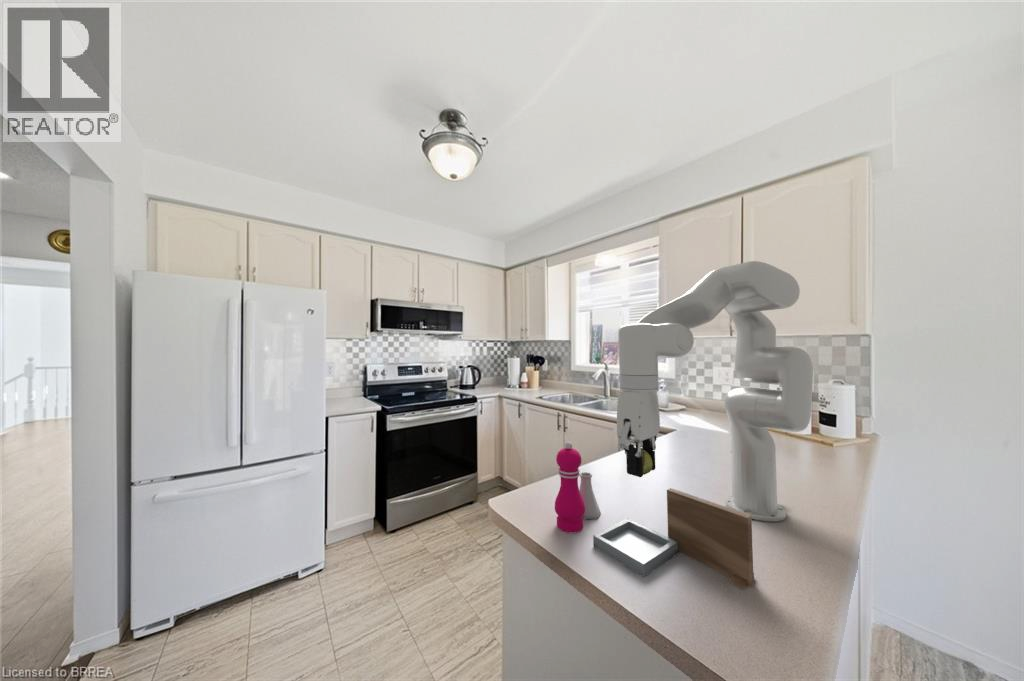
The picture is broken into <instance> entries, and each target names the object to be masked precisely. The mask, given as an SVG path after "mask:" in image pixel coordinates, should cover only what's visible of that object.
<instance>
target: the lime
mask: <svg viewBox="0 0 1024 681" xmlns="http://www.w3.org/2000/svg"><path fill="white" fill-rule="evenodd" d="M640 456H641V457H642V459H643V476H644V475H645V476H646V475H647V474H649V473H650V472H651V471H653V470H652V466H653V463H652V459H651V456H650V455H649V454H648V452H646V451H645V450H643V449H641V453H640Z"/></svg>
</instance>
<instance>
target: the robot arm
mask: <svg viewBox="0 0 1024 681" xmlns="http://www.w3.org/2000/svg"><path fill="white" fill-rule="evenodd" d="M800 290H801V289H800V286H799V282H798V281H797V279H796V278H795V277H794V276H793V275H791V273H788V272H787V271H785V270H783V269H780V268H778V267H776V266H774V265H771V264H770V263H766V262H762V261H758V260H752V261H747V262H742V263H737V264H733V265H729V266H723V267H719V268H716V269H714V270H712V271H710V272H709V273H707V274H706V275H705V276H704V277H703V278H701V279H700V280H699V281H698V282H697V283H696V284H695V285H693V287H692V288H690V289H689V290H688V291H686V292H685V293H684V294H683V295H682V296H680V297H677V298H675V299H673V300H671V301H670V302H667V303H666V304H663V305H661V306H660V307H657V308H655V309H654V310H652V311H650V312H648V313H647V314H645V315H644V316H643V317H642V318H641V319H639V320H638V321H637V322H636V323H629V324H624V325H622V326H620V327H619V329H618V358H619V359H618V362H619V366H618V368H619V371H618V372H619V391H618V392H619V393H618V398H617V408H616V437H617V438H618V439H619V440H618V441H619V442H618V443H619V445H620V446H621V447H622V448H623V450H624V454H625V456H626V457H625V458H626V459H625V460H626V473H627V475H631V476H634V477H637V478H641V477H642V478H643V476H644V475H643V459H642V457H641V456H640V453H641V449H643V450H645V451H646V452H648V454H649V455H650V456H651V459H652V463H653V466H652V470H651V471H655V470H656V448H657V445H656V441H657V437H658V434H659V433H660V429H661V428H660V427H661V418H660V417H661V416H660V406H659V405H660V403H659V397H658V391H659V390H660V388H659V359H676V358H681V357H683V356H686V355H688V354H689V353H690V351H691V350H692V348H693V347H694V342H695V339H694V335H693V332H692V331H691V330H690V329H695V328H697V327H700V326H703V325H706V324H708V323H710V322H712V321H714V319H715V318H716V317H717V316H718V315H719V314H720V313H721V312H722V310H725V312H726V313H727V314H728V315H729V317H730V319H731V320H732V323H733V324H734V325H735V329H736V343H735V344H736V345H735V346H736V347H735V355H734V356H735V357H734V360H735V361H734V371H735V376H736V377H737V378H738V379H739V380H741V381H743V382H745V383H746V382H747V383H755V384H766V385H777V386H781V390H777V389H767V388H759V387H737V388H733V389H731V390H729V391H728V392H727V394H726V395H725V399H724V407H725V413H726V416H727V421H728V425H729V433H730V461H731V462H730V463H731V488H732V490H731V492H732V493H731V495H729V496H727V497H726V498H725V505H726V507H728V508H731V509H733V510H736V511H739V512H742V513H745V514H748V515H751V519H753V520H757V521H762V522H781V521H783V520H785V519H786V518H787V517H786V516H787V514H786V513H787V512H786V510H785V509H784V508H783V507H782V506H780V505H779V504H778V485H777V484H778V481H777V480H778V479H777V457H776V456H777V455H776V453H777V451H776V443H775V441H774V438H773V436H772V435H771V433H770V432H769V430H768V428H769V429H773V430H780V431H786V432H793V433H797V432H802V431H805V430H806V429H807V428H808V426H809V425H810V424H809V423H810V421H811V416H812V401H813V398H812V397H813V379H814V372H813V371H814V370H813V369H814V368H813V362H812V359H811V357H810V355H809V353H808V352H806V350H804V349H803V348H801V347H796V346H776V345H777V344H776V342H777V338H776V337H777V331H776V330H777V329H776V327H775V325H774V324H773V322H772V321H771V320H770V318H768V317H767V316H766V315H765V314H764V313H763V312H765V311H774V310H782V309H783V310H784V309H788V308H790V307H793V305H795V304H796V303H797V302H798V299H799V298H800V293H801V291H800ZM631 437H633V439H632V438H631ZM634 444H635V446H634Z"/></svg>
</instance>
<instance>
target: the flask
mask: <svg viewBox="0 0 1024 681" xmlns="http://www.w3.org/2000/svg"><path fill="white" fill-rule="evenodd" d="M579 474H580V475H579V478H580V485H579V491H580V494H581V496H582V498H583V501H584V504H585V513H584V515H583V516H582V518H583V519H585V520H591V519H599V517H600V516H601V513H602V512H601V509H600V506H599V503H598V502H597V498H596V496H595V493H594V490H593V485H592V477H593V474H592V473H591V472H587V471H582V472H579Z"/></svg>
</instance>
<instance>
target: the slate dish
mask: <svg viewBox="0 0 1024 681" xmlns="http://www.w3.org/2000/svg"><path fill="white" fill-rule="evenodd" d="M592 537H593V542H592V543H593V548H595V549H597V550H598V551H599V552H601V553H603V554H605V555H606V556H609V558H611V559H613V560H614V561H617V562H618V563H619V564H621V565H623V566H624V567H626V568H628V569H629V570H631V571H633V572H634V573H636V574H638V575H639V576H641V577H643V578H645V577H647V576H649V575H650V574H651V573H652V572H654V571H656V570H657V569H659V567H661V566H663V565H664V564H666V563H667V562H669V561H670V560H672V559H673V558H674V557H676V556H677V555H678V554H677V553H678V550H677V549H678V542H677V541H675V540H673V539H670V538H668V536H666V535H664V534H662V533H660V532H658V531H655V530H653V529H651V528H649V527H646V526H645V525H643V524H640V523H638V522H636V521H634V520H632V519H630V518H626V519H623V520H621V521H619V522H617V523H616V524H614V525H612V526H610V527H607V528H605V529H603V530H601V531H599V532H596V533H595V534H593V536H592ZM675 551H676V554H677V555H676V554H675Z"/></svg>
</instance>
